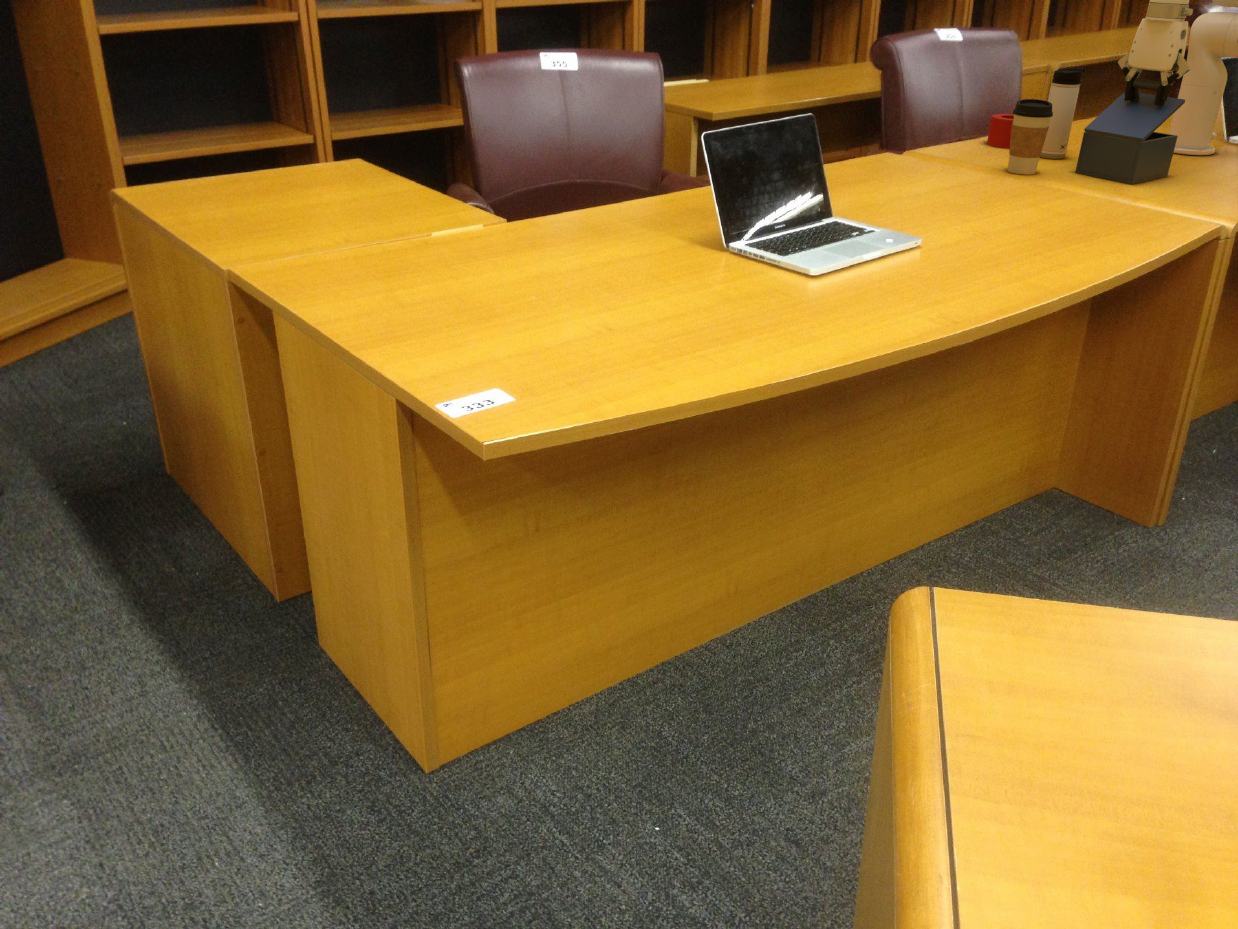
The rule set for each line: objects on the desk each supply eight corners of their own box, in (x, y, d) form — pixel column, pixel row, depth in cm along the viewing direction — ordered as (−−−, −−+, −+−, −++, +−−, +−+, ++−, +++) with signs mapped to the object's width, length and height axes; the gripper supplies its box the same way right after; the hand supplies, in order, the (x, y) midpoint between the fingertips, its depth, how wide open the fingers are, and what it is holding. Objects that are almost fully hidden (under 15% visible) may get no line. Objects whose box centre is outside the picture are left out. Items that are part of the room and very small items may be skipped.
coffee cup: (1041, 169, 237) (1055, 100, 230) (1041, 177, 230) (1055, 105, 223) (1002, 166, 240) (1014, 97, 233) (1001, 173, 233) (1014, 103, 226)
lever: (982, 145, 261) (987, 117, 258) (991, 139, 268) (996, 112, 265) (1058, 154, 253) (1064, 125, 250) (1065, 147, 260) (1071, 120, 257)
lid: (1125, 94, 235) (1125, 71, 232) (1185, 102, 226) (1185, 78, 222) (1084, 131, 231) (1083, 108, 227) (1143, 141, 222) (1142, 118, 218)
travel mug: (1068, 160, 247) (1087, 70, 238) (1039, 158, 248) (1057, 68, 239) (1064, 154, 253) (1082, 66, 243) (1035, 153, 254) (1052, 65, 244)
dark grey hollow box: (1110, 165, 243) (1119, 125, 239) (1167, 176, 233) (1177, 135, 229) (1075, 172, 235) (1083, 132, 231) (1132, 184, 226) (1142, 142, 221)
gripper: (1216, 15, 216) (1191, 106, 224) (1136, 9, 229) (1116, 96, 237) (1198, 15, 212) (1173, 108, 220) (1118, 9, 224) (1097, 98, 232)
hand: (1144, 101), depth 228 cm, fingers closed on lid, 6 cm apart
